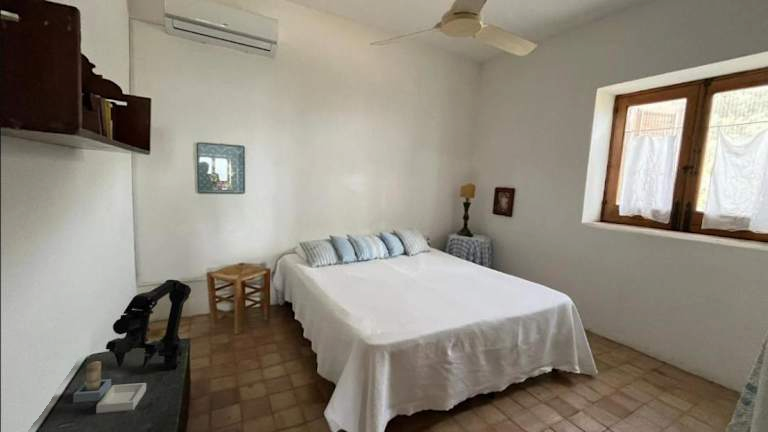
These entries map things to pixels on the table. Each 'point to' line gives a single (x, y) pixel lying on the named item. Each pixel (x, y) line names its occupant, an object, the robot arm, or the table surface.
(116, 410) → the tray
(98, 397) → the socket block
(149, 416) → the table surface
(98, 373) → the birch dowel
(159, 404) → the table surface
